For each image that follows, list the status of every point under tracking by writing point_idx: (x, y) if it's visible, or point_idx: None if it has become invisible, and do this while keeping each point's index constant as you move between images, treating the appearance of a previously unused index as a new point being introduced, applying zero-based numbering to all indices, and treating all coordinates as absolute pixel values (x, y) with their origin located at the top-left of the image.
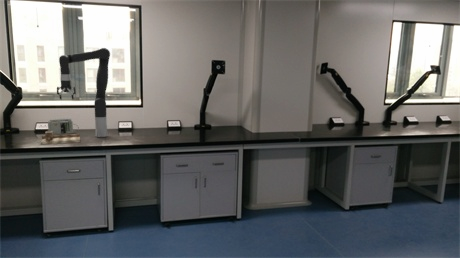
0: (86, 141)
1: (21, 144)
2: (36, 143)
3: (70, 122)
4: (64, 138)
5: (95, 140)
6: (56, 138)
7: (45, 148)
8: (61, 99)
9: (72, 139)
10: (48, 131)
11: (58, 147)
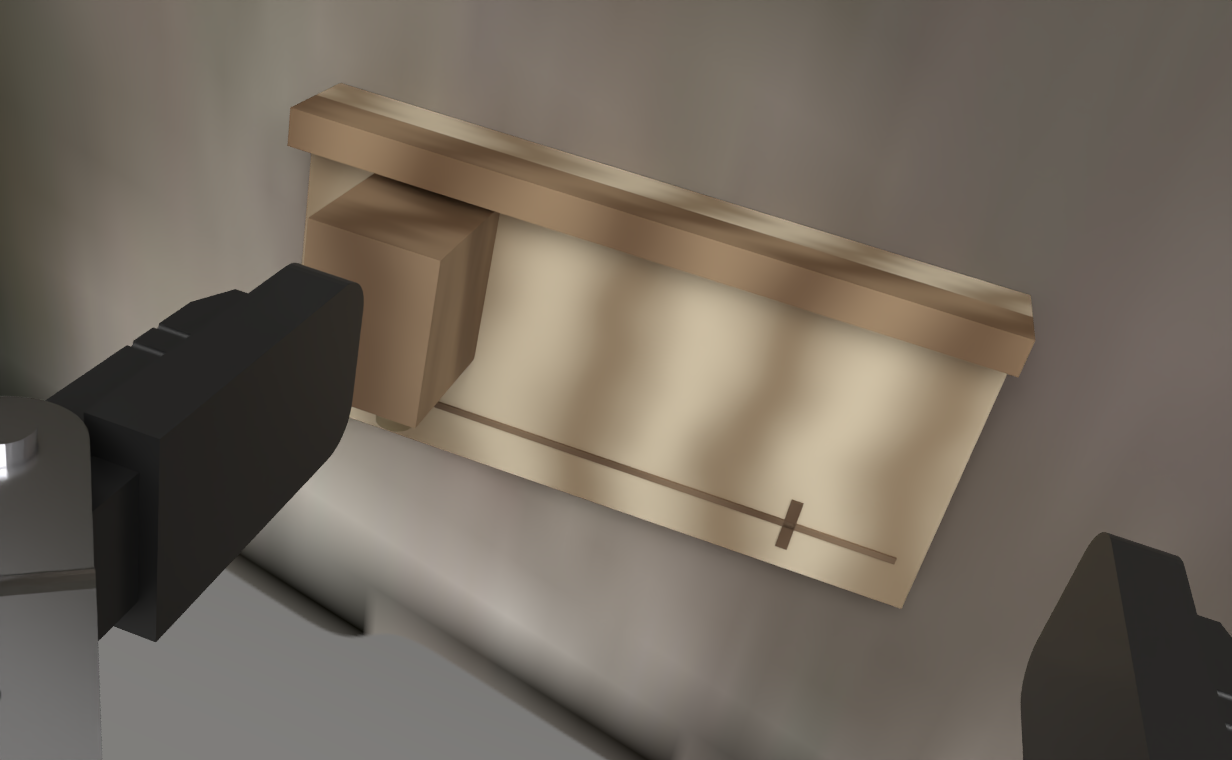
0: (1028, 585)
1: (48, 205)
2: (249, 260)
3: None
4: (687, 349)
5: (1217, 608)
6: (554, 265)
7: (357, 632)
8: (341, 427)
9: (788, 521)
10: (357, 276)
11: (516, 681)
